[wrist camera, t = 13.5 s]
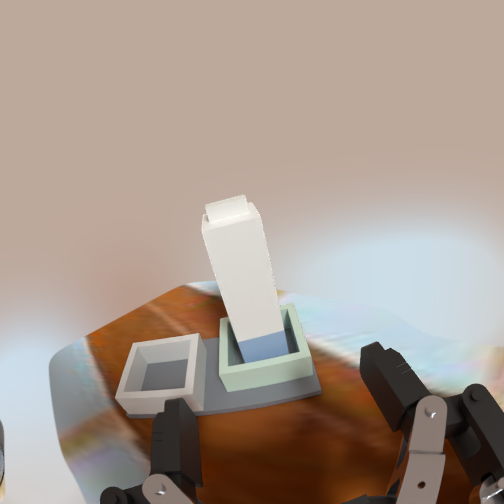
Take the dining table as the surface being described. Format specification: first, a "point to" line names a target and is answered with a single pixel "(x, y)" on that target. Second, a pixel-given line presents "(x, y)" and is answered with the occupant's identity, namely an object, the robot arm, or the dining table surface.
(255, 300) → the milk carton
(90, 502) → the dining table surface
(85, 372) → the dining table surface
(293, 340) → the double bin tray
